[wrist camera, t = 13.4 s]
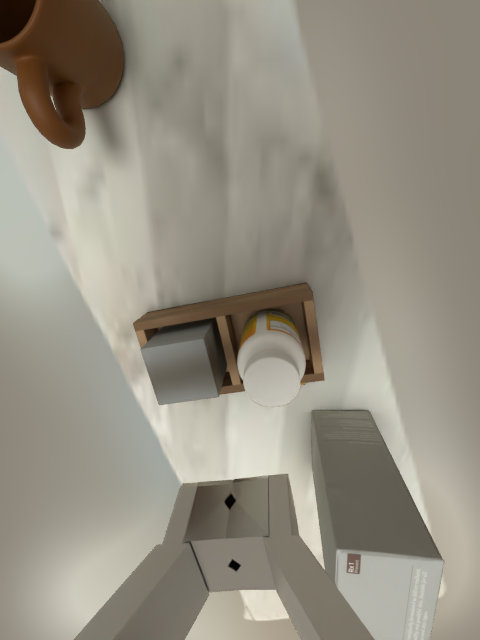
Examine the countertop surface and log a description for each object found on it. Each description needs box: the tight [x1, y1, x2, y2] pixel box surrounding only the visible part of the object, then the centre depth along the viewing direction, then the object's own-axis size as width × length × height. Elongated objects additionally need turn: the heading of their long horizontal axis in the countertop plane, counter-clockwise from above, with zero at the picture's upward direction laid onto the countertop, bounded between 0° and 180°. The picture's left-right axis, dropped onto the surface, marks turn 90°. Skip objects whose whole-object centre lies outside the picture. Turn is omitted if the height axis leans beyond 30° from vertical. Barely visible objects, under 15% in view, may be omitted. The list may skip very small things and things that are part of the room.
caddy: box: [133, 283, 324, 405], centre depth 28 cm, size 9×16×7 cm, turn 102°
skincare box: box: [312, 410, 444, 640], centre depth 26 cm, size 8×7×16 cm
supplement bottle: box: [237, 309, 306, 407], centre depth 25 cm, size 5×5×10 cm
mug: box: [0, 0, 123, 149], centre depth 20 cm, size 12×8×9 cm, turn 12°
